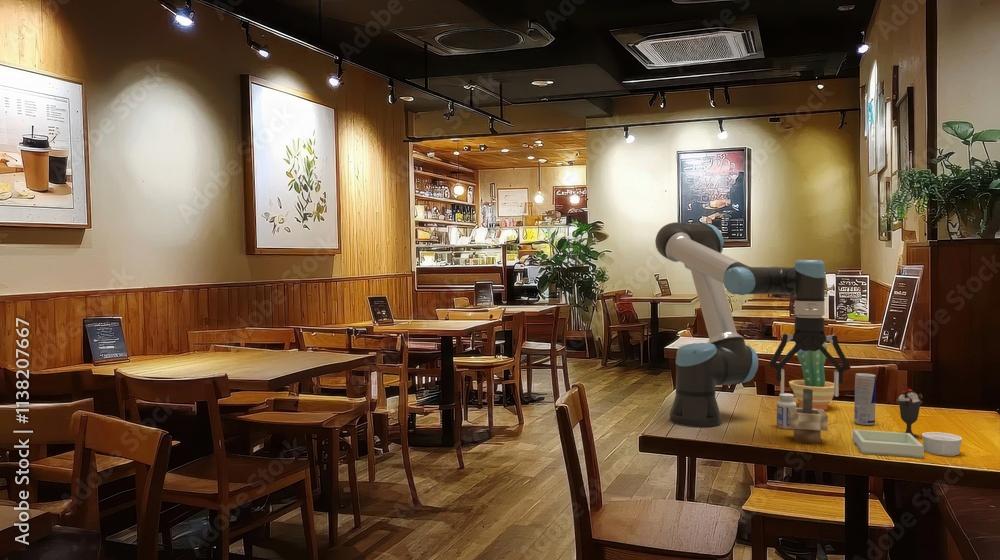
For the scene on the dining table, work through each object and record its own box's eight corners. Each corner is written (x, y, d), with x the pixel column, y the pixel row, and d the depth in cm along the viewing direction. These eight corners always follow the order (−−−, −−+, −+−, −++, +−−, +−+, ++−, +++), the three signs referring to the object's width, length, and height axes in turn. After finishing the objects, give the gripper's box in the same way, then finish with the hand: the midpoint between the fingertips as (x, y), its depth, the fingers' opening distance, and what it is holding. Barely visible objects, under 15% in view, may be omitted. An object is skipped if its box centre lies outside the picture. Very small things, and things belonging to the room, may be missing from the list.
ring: (791, 428, 196) (791, 413, 196) (788, 421, 205) (788, 407, 205) (827, 430, 194) (827, 415, 194) (822, 423, 203) (823, 409, 202)
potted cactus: (781, 402, 252) (782, 330, 251) (827, 403, 251) (828, 330, 250) (797, 412, 236) (799, 335, 235) (846, 412, 236) (848, 335, 235)
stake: (794, 442, 197) (795, 391, 197) (792, 436, 204) (793, 386, 203) (822, 444, 195) (823, 392, 195) (818, 438, 202) (819, 388, 201)
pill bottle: (797, 426, 216) (798, 393, 216) (794, 430, 211) (795, 396, 211) (778, 424, 219) (778, 392, 219) (775, 427, 214) (775, 394, 214)
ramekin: (952, 459, 182) (952, 442, 182) (915, 451, 190) (915, 434, 189) (967, 453, 188) (968, 437, 187) (931, 446, 195) (931, 430, 195)
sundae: (891, 436, 205) (893, 383, 205) (899, 432, 210) (901, 380, 209) (918, 440, 200) (919, 386, 200) (925, 436, 205) (926, 383, 205)
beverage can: (877, 426, 217) (878, 376, 216) (857, 425, 218) (858, 375, 217) (871, 422, 222) (872, 373, 222) (852, 421, 223) (853, 372, 223)
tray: (862, 453, 187) (862, 441, 187) (852, 440, 200) (852, 429, 200) (923, 458, 183) (923, 446, 183) (909, 444, 196) (909, 433, 196)
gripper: (761, 316, 198) (761, 394, 199) (862, 318, 191) (861, 399, 192) (760, 314, 206) (759, 389, 206) (857, 316, 198) (856, 394, 199)
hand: (808, 394), depth 199 cm, fingers open, 13 cm apart
